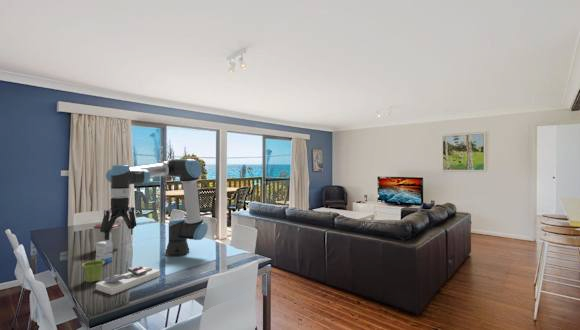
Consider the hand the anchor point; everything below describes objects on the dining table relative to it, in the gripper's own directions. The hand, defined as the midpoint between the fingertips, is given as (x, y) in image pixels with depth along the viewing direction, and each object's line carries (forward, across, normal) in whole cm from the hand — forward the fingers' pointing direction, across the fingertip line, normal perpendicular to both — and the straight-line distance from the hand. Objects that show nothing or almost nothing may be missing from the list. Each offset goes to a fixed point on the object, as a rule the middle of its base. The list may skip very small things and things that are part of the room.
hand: (118, 244), depth 136 cm
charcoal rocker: (+18, +12, +3) cm, 22 cm away
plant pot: (+22, +1, +22) cm, 31 cm away
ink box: (+22, +21, +46) cm, 55 cm away
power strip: (+21, +8, +2) cm, 23 cm away
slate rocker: (+18, 0, +2) cm, 18 cm away
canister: (+22, +37, +68) cm, 81 cm away
